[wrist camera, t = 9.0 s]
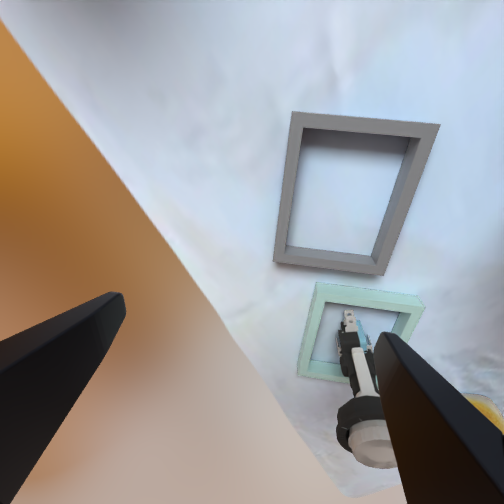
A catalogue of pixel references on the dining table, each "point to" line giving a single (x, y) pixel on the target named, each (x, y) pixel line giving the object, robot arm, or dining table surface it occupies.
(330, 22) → the dining table surface
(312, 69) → the dining table surface
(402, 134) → the grey rectangular frame
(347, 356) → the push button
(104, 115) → the dining table surface
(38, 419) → the robot arm
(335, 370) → the mint green frame
